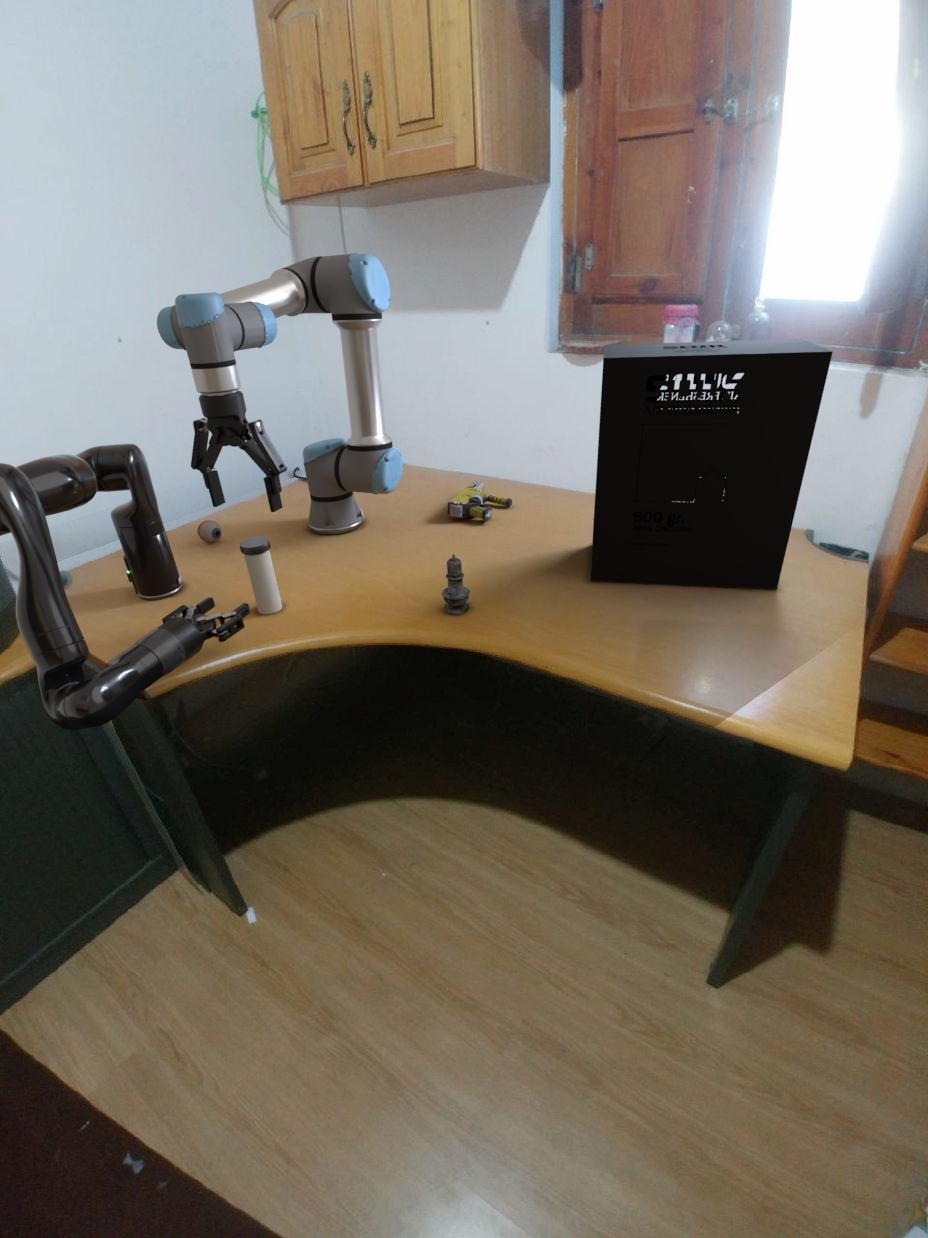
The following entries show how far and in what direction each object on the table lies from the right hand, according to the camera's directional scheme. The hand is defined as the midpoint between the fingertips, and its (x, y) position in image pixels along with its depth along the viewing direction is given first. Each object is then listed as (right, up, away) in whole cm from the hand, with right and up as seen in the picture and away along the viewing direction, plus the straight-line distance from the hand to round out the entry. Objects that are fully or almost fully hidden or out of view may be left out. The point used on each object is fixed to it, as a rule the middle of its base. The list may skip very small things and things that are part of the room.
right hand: (247, 507), depth 117 cm
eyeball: (-26, -1, +46) cm, 53 cm away
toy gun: (+48, +10, +58) cm, 76 cm away
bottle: (+1, -20, +11) cm, 23 cm away
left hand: (-3, -19, 0) cm, 19 cm away
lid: (0, -7, +4) cm, 8 cm away
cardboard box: (+90, -10, +19) cm, 93 cm away
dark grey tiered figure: (+41, -20, +7) cm, 46 cm away
